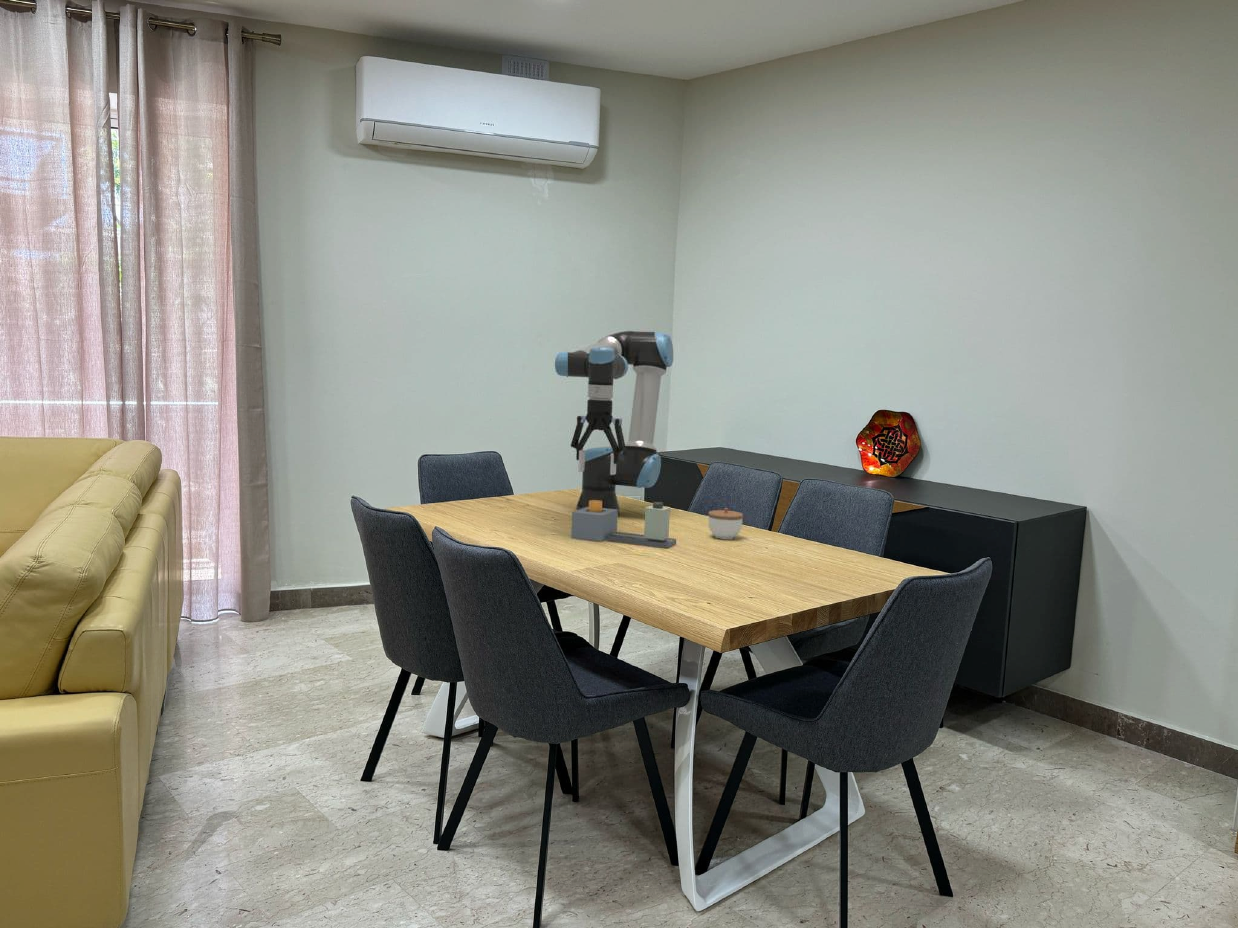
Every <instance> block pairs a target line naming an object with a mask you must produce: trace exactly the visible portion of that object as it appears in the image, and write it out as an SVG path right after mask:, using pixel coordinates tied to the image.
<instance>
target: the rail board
mask: <svg viewBox="0 0 1238 928" xmlns="http://www.w3.org/2000/svg"><path fill="white" fill-rule="evenodd" d="M607 542H610V543H619V544H626V543H628V545H635V546H642V545H643V546H644V547H650V546H652V547H653V548H660V549H667V550H668V549H669V548H671V547H673V546H675V545H676V544H677V538H673V537H672V538H671V537H668V538H666V539H665V540H657V539H649V538H644V534H638V533H631V532H630V533H629V532H623V531H621V532H620V531H617V532H616V533H613V534H612V535H609V536H608V539H607ZM643 546H642V547H643Z"/></svg>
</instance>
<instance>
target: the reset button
mask: <svg viewBox="0 0 1238 928" xmlns="http://www.w3.org/2000/svg"><path fill="white" fill-rule="evenodd" d="M589 512H596V513H601V512H602V501H600V500H590V501H589Z"/></svg>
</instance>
